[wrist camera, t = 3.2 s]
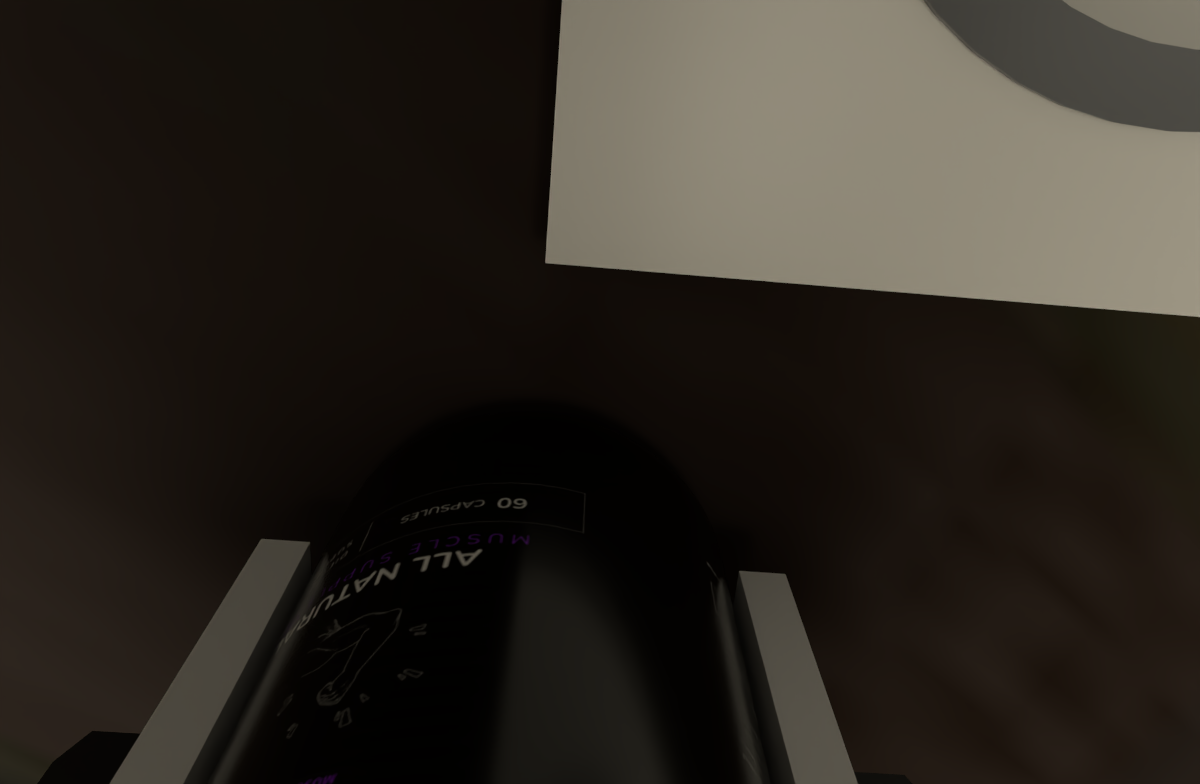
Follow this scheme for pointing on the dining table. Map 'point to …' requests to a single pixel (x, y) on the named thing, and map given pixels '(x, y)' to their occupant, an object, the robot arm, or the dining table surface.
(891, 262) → the record player
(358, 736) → the supplement bottle
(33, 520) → the dining table surface
